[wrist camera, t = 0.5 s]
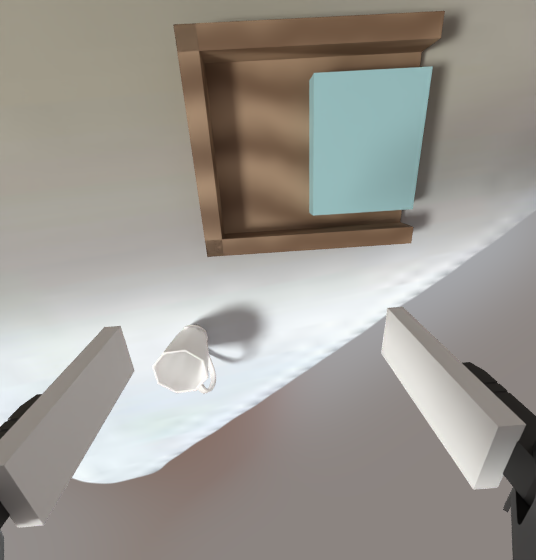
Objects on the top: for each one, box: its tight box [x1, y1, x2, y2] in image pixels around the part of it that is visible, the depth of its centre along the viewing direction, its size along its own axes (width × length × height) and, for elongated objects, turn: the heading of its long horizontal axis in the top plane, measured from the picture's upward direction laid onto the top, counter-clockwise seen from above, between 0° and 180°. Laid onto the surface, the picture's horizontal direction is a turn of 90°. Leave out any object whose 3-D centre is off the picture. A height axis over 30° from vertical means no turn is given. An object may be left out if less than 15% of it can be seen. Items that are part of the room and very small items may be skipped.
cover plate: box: [309, 67, 433, 216], centre depth 31 cm, size 14×12×2 cm
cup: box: [152, 324, 216, 394], centre depth 38 cm, size 7×10×8 cm
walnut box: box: [174, 11, 445, 257], centre depth 31 cm, size 22×25×4 cm
